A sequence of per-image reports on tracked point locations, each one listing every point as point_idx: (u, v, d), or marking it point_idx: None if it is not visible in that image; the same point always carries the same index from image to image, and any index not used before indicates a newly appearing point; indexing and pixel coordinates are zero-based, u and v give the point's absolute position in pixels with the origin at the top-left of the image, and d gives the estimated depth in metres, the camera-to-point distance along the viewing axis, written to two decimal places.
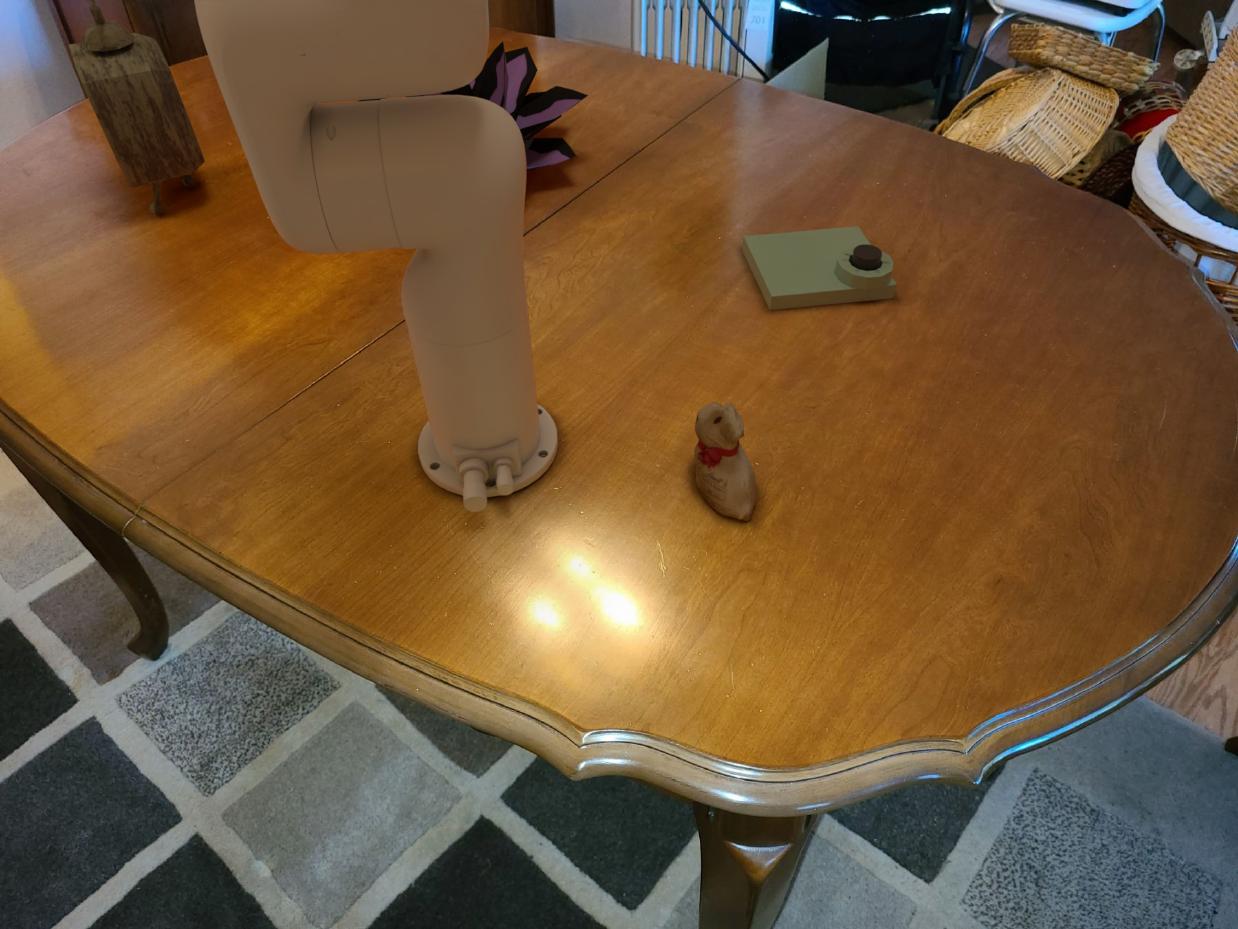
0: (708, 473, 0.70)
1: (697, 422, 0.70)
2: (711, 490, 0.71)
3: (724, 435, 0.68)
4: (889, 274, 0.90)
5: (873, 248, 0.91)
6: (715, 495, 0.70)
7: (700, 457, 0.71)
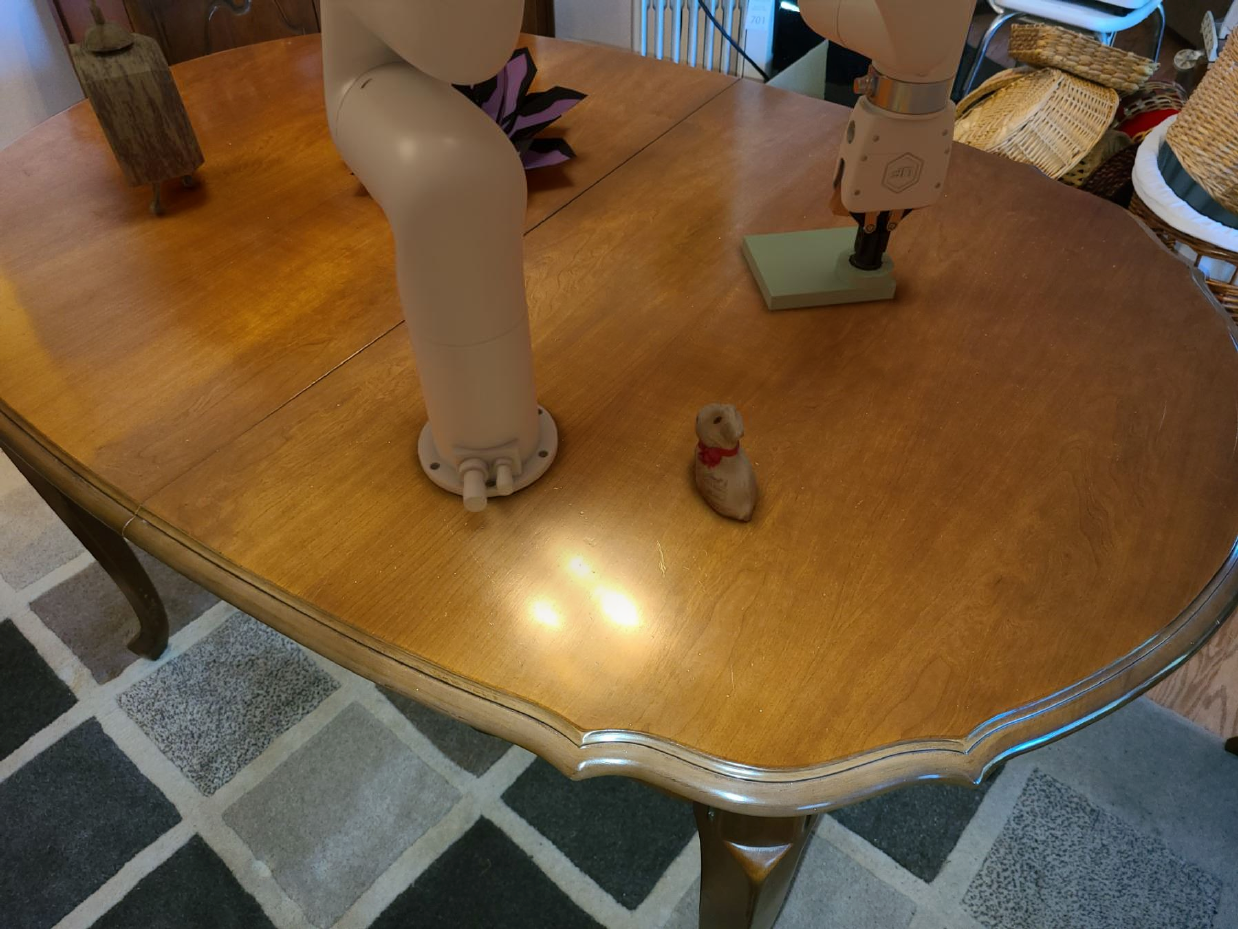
0: (708, 473, 0.70)
1: (697, 422, 0.70)
2: (711, 490, 0.71)
3: (724, 435, 0.68)
4: (889, 274, 0.90)
5: None
6: (715, 495, 0.70)
7: (700, 457, 0.71)
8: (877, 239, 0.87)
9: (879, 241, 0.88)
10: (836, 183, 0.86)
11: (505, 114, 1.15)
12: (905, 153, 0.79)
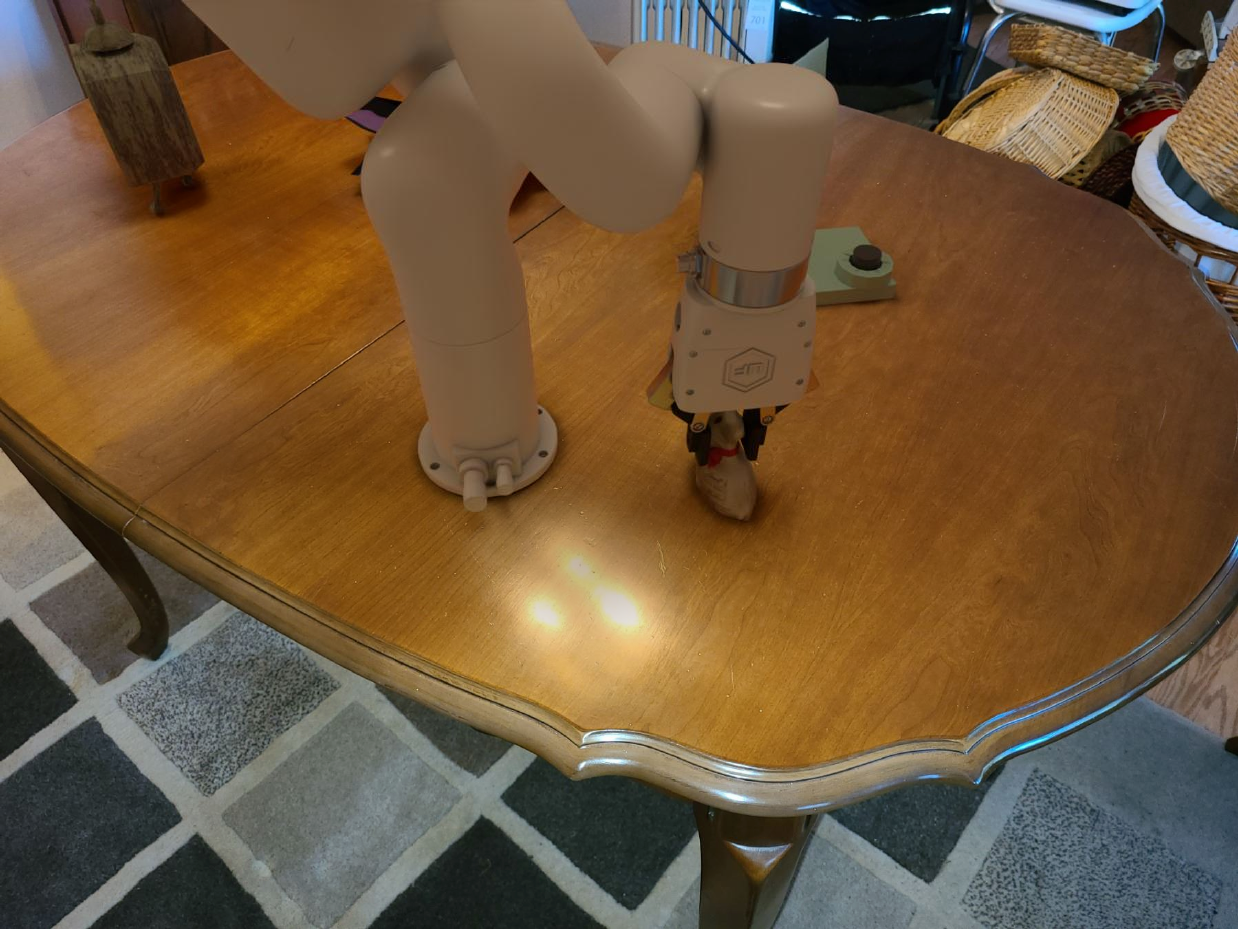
0: (708, 473, 0.70)
1: None
2: (711, 490, 0.71)
3: (725, 435, 0.68)
4: (889, 274, 0.90)
5: (873, 248, 0.91)
6: (715, 495, 0.70)
7: None
8: (710, 439, 0.67)
9: (752, 436, 0.67)
10: None
11: None
12: (749, 348, 0.59)
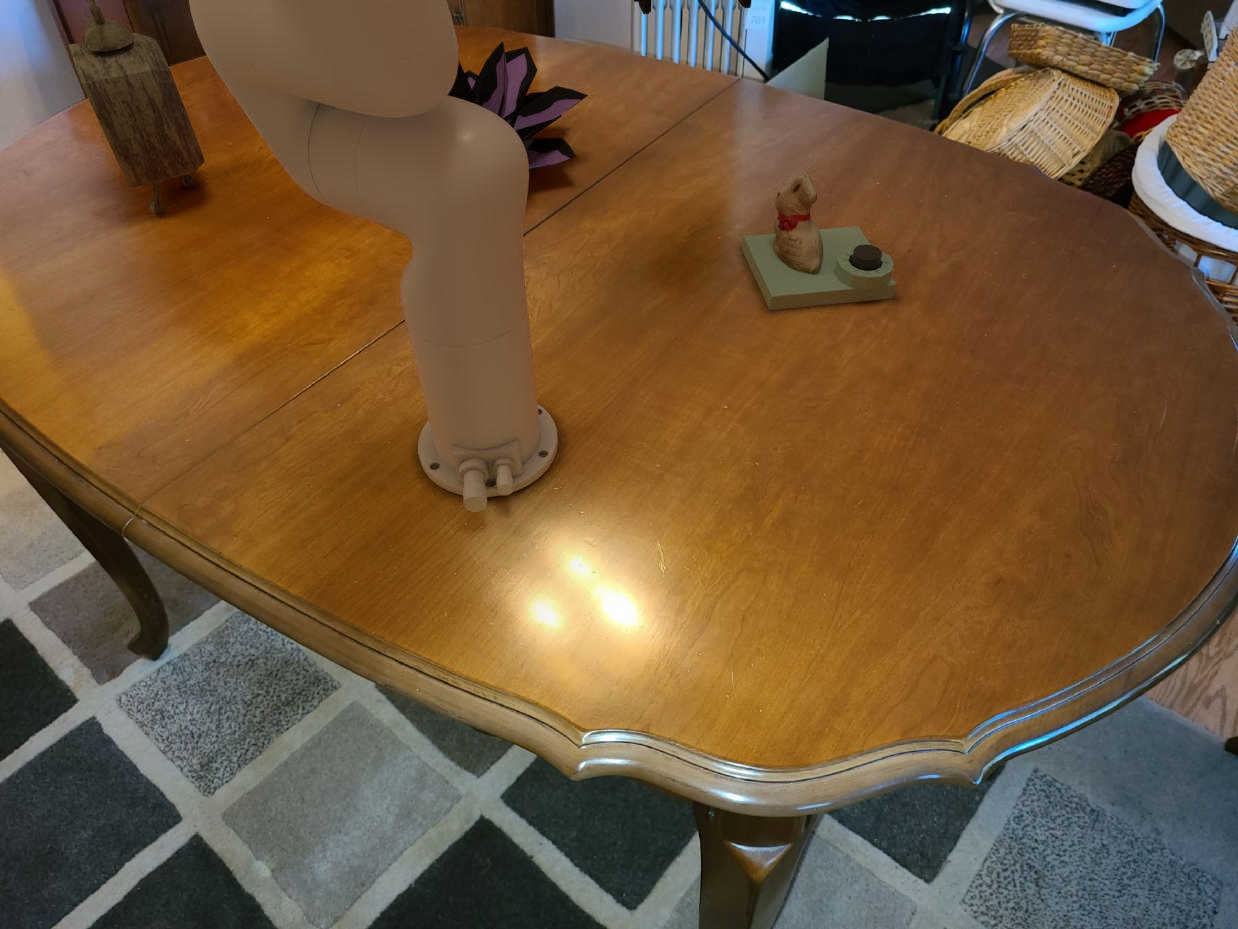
0: (786, 236, 0.92)
1: (778, 197, 0.92)
2: (789, 249, 0.92)
3: (801, 200, 0.89)
4: (889, 274, 0.90)
5: (873, 248, 0.91)
6: (792, 253, 0.92)
7: (780, 224, 0.92)
8: None
9: None
10: None
11: (505, 114, 1.15)
12: None
